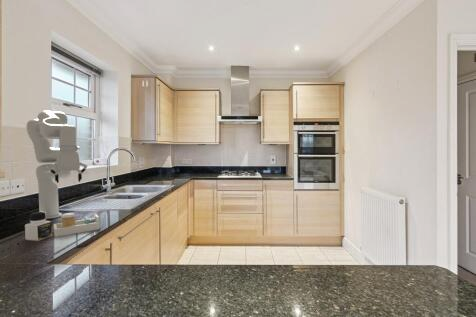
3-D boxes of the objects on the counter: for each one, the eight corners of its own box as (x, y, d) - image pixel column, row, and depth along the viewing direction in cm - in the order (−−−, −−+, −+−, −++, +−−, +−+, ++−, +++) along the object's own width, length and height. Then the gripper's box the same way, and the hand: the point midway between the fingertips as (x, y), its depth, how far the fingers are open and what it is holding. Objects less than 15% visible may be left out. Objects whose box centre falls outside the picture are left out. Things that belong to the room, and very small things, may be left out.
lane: (53, 230, 137) (53, 219, 137) (96, 224, 148) (95, 213, 148) (54, 236, 128) (54, 223, 128) (99, 229, 139) (99, 217, 139)
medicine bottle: (38, 241, 122) (37, 214, 122) (25, 240, 124) (23, 213, 123) (52, 235, 129) (51, 210, 129) (39, 235, 131) (38, 210, 130)
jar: (61, 228, 136) (60, 214, 136) (74, 226, 140) (74, 212, 140) (62, 231, 132) (61, 216, 131) (76, 229, 135) (75, 214, 135)
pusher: (84, 224, 143) (84, 216, 143) (93, 222, 146) (93, 215, 146) (86, 227, 137) (86, 219, 137) (96, 226, 139) (96, 218, 139)
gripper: (86, 148, 150) (86, 179, 151) (47, 148, 140) (48, 182, 141) (87, 149, 144) (88, 181, 145) (47, 149, 134) (48, 184, 135)
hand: (68, 181), depth 143 cm, fingers open, 9 cm apart
